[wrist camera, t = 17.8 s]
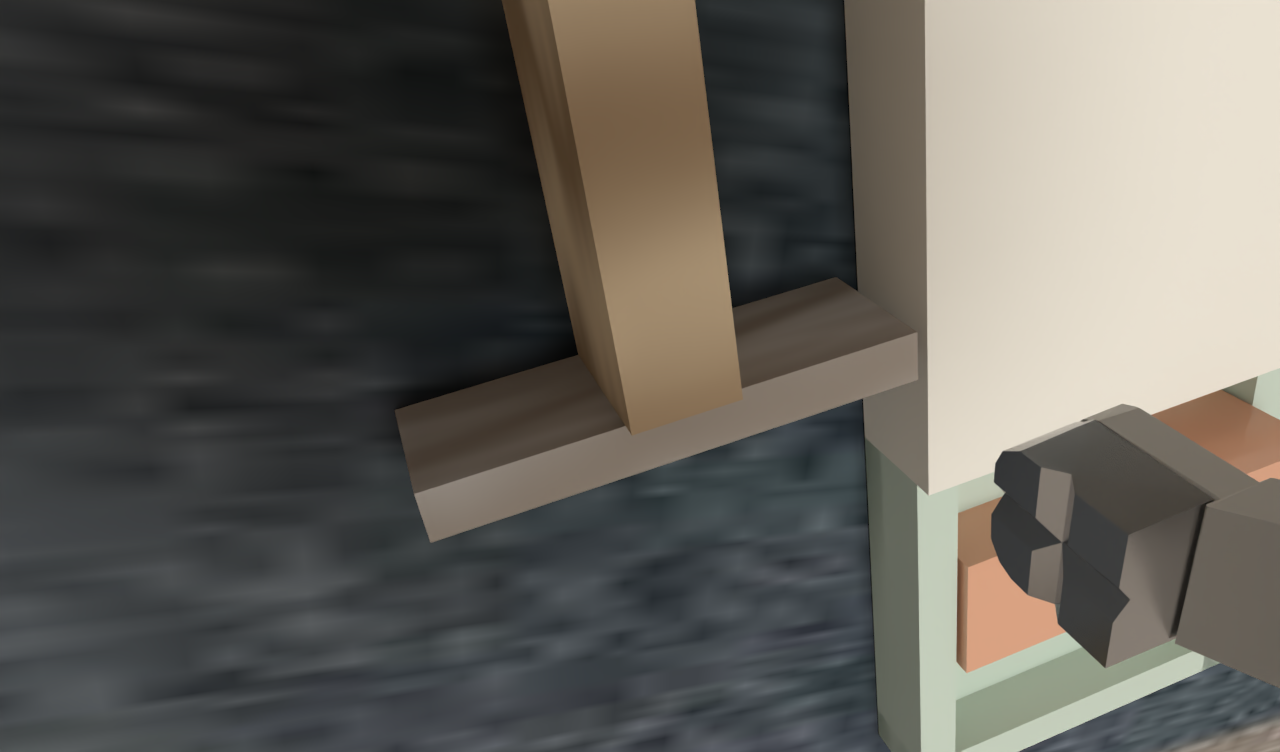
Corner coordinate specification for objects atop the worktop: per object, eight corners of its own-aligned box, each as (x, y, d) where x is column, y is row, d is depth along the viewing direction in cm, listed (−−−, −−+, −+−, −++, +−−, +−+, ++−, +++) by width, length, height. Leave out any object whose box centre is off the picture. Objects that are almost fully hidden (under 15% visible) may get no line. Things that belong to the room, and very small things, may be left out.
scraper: (183, -220, 15) (157, -253, 12) (798, -315, 18) (922, -364, 14) (408, 452, 22) (433, 554, 18) (836, 319, 24) (928, 387, 21)
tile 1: (966, 673, 27) (926, 628, 29) (1083, 624, 28) (1037, 583, 30) (967, 567, 25) (924, 525, 27) (1093, 518, 26) (1043, 480, 28)
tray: (864, 437, 26) (916, 484, 24) (1219, 315, 28) (1295, 349, 26) (878, 734, 32) (921, 793, 30) (1171, 611, 34) (1230, 658, 32)
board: (825, -391, 17) (921, -442, 15) (1344, -461, 20) (1503, -514, 17) (864, 437, 26) (928, 495, 23) (1219, 315, 28) (1311, 356, 26)
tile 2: (1200, 492, 24) (1190, 553, 25) (1324, 443, 25) (1310, 504, 26) (1085, 418, 27) (1080, 474, 28) (1198, 377, 28) (1190, 433, 29)
